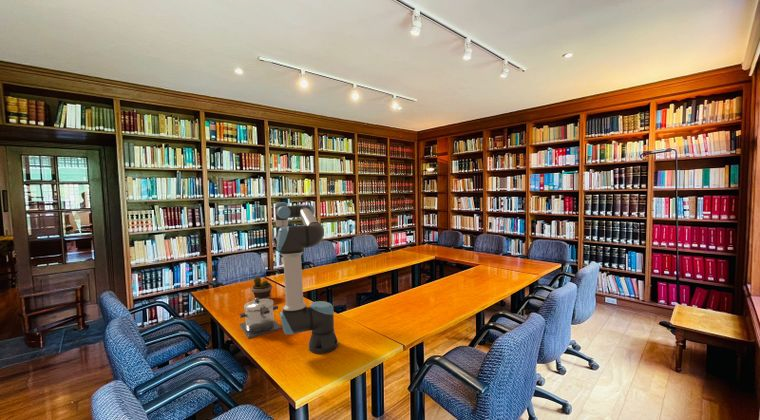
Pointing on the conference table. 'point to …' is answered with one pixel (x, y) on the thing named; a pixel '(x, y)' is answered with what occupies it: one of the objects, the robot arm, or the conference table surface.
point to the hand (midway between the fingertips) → (283, 261)
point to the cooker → (259, 322)
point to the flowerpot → (261, 288)
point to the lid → (259, 305)
